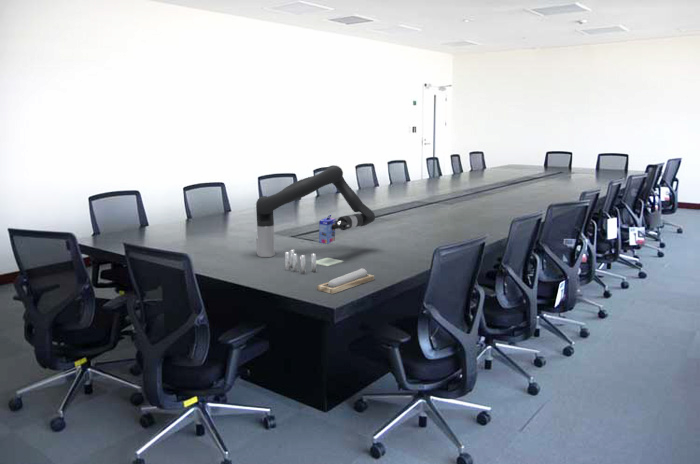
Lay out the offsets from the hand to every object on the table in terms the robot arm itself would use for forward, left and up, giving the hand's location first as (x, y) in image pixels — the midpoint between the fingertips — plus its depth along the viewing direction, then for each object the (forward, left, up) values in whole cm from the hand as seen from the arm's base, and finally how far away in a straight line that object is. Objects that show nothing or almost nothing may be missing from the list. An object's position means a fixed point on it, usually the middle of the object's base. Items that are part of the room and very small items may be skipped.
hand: (327, 226), depth 289 cm
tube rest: (+35, -25, -19) cm, 47 cm away
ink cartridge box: (0, 0, -8) cm, 8 cm away
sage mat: (0, 0, -19) cm, 19 cm away
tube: (+35, -25, -20) cm, 47 cm away
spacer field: (0, -21, -19) cm, 28 cm away
